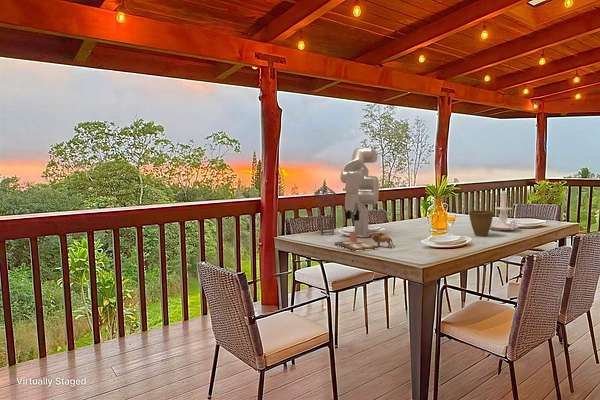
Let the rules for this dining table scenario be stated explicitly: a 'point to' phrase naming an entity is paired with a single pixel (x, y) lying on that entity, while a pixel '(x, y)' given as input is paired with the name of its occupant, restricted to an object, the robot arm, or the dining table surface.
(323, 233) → the geometric lantern
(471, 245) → the dining table surface
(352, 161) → the robot arm
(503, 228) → the candlestick
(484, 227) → the plant pot
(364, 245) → the ticket board
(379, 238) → the lion figurine
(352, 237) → the stub
